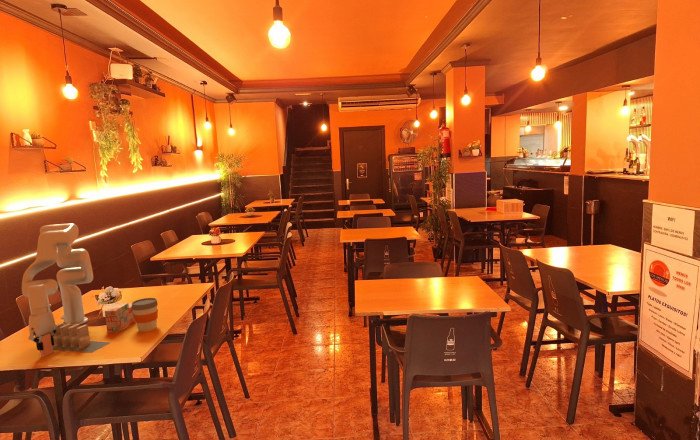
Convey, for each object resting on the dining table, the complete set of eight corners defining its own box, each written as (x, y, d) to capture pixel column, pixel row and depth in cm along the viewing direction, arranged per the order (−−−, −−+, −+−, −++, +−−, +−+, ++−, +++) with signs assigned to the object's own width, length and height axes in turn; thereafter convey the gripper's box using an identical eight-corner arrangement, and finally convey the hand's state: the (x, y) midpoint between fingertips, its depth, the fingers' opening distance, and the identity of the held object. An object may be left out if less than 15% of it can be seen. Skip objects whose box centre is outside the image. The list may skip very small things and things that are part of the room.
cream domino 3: (71, 347, 224) (68, 327, 222) (79, 343, 229) (76, 324, 227) (73, 347, 223) (70, 328, 222) (82, 343, 228) (79, 324, 227)
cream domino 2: (62, 346, 225) (60, 327, 224) (71, 342, 230) (68, 323, 229) (65, 347, 225) (62, 327, 223) (74, 343, 230) (71, 323, 228)
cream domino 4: (79, 348, 223) (76, 328, 221) (87, 344, 227) (85, 324, 226) (82, 348, 222) (79, 328, 221) (90, 344, 227) (87, 324, 225)
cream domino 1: (54, 346, 227) (51, 326, 225) (63, 342, 231) (60, 323, 230) (57, 346, 226) (54, 327, 225) (66, 342, 231) (63, 323, 230)
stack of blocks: (129, 318, 264) (126, 297, 262) (139, 318, 263) (137, 297, 261) (107, 333, 242) (104, 310, 241) (118, 332, 242) (115, 310, 240)
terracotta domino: (41, 357, 215) (37, 336, 214) (50, 352, 220) (47, 332, 218) (43, 357, 215) (40, 337, 213) (53, 353, 219) (50, 332, 218)
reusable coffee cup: (150, 323, 254) (147, 296, 252) (165, 326, 248) (162, 299, 246) (129, 331, 243) (126, 303, 241) (144, 334, 237) (141, 306, 235)
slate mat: (45, 349, 224) (44, 349, 224) (66, 340, 235) (66, 339, 235) (91, 353, 216) (91, 352, 216) (111, 343, 228) (111, 342, 228)
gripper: (50, 304, 223) (55, 340, 226) (16, 316, 207) (22, 354, 210) (62, 304, 221) (67, 340, 224) (29, 317, 205) (35, 355, 208)
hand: (46, 347), depth 217 cm, fingers closed on terracotta domino, 4 cm apart
